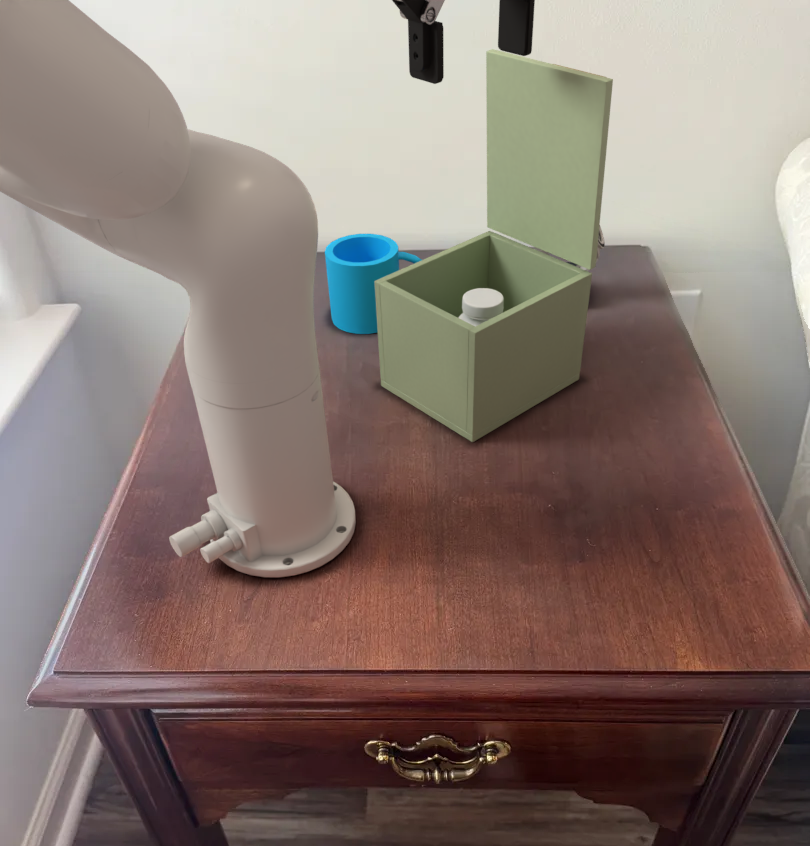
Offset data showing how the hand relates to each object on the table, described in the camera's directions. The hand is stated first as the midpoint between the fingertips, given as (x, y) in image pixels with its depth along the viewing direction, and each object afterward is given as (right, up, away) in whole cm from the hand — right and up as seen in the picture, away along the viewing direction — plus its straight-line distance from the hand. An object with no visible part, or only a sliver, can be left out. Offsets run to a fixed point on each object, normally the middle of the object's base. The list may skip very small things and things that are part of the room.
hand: (471, 65), depth 67 cm
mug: (-8, -11, +33) cm, 36 cm away
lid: (+7, -3, +11) cm, 13 cm away
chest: (+3, -21, +22) cm, 30 cm away
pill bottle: (+3, -21, +21) cm, 30 cm away
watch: (+14, -9, +35) cm, 38 cm away
